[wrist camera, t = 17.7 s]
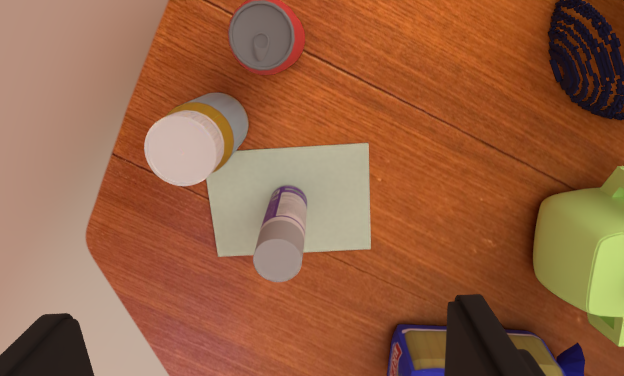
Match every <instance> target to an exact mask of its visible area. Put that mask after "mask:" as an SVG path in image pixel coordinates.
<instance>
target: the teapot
mask: <svg viewBox="0 0 624 376" xmlns="http://www.w3.org/2000/svg"><path fill="white" fill-rule="evenodd" d="M533 267H534V271H535V275H536V277H537V279H538V280H539V282H540V283H541V284H542V285H543V286H545V287H546V288H547V289H548V290H550V291H551V292H552V293H553V294H555V295H556V296H558V297H560V298H561V299H563V300H564V301H566V302H568V303H570V304H572V305H574V306H576V307H578V308H580V309H582V310H584V311H586V312H587V316H588V321H589V323H590V324H591V325H592V326H593V327H595V328H596V329H597V330H598V331H600V332H601V333H602V334H603V335H605V336H606V337H607V338H608V339H610V340H611V341H612V342H613V343H615V344H616V345H617V346H618V347H619V346H624V166H618V167H617V168H616V169H615V170H614V172H613V173H612V174H611V175H610V177H609V178H608V179H607V180H606V182H605V183H604V184H603V185H602V187H601V188H588V189H581V190H575V191H569V192H564V193H559V194H555V195H552V196H550V197H548V198H546V199H544V200H543V202H542V203H541V205H540V209H539V213H538V217H537V223H536V229H535V236H534V247H533Z"/></svg>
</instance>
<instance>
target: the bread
mask: <svg viewBox="0 0 624 376" xmlns="http://www.w3.org/2000/svg"><path fill="white" fill-rule="evenodd" d="M446 330H447V326H429V325H407V324H398V326H397V328H396V330H395V332H394V333H393V337H392V342H391V349H390V356H389V363H388V370H387V376H444V373H445V351H446ZM504 330H505V331H506V333H507V334H508V336H509V337H510V339H511V340H512V342H513V343H514V345H515V346H516V348H517V349H525V350H527V351H529V353H530V354H531V355H532V356H533V357H534V359H535V360H536V362H537V363H538V365H539V366H540V368H541V369H542V370H543V372H544V373H545V375H546V376H584V365H585V359H584V355H583V352H582V349H581V347H580V345H579V344H578V343H577V344H575V345H574V346H572V347H571V348H569V349H567V350H566V351H564V352H563V353H561V354H560V355H559V356H557V360H555V359H554V357H553V355H552V354H551V352H550V350H549V349H548V347H547V346H546V344H545V342H544V341H543V340H542V339H541V338H540V337H538V336H537V335H535V334H534V333H531V332H529V331H523V330H506V329H504Z"/></svg>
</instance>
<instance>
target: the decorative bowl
mask: <svg viewBox="0 0 624 376" xmlns="http://www.w3.org/2000/svg"><path fill="white" fill-rule="evenodd" d="M584 4H585V5H584ZM555 5H556V9H554V11H555V12H554V13H553V16H552V17H551V18H552V21H553V22H551V23H550V24H551V27H552V28H550V31H549V32H548V34H549V37H550V40H551V42H549V45H550V48H551V49H550V50H549V53H550V56H551V60H549V61H550V64H551V67H552V70H553V72H554V75H555V78H556V81H557V82H560V85H561V88H562V89H563V90H565V91H566V94H567V95H570V98H571V101H572V102H575V103H578V106H581V107H582V109H585V110H588V111H591V113H592V114H595V115H599V116H602V117H605V118H609V119H612V118H614V119H617V120H624V113H623V112H622V113H617V114H616V112H620V111H621V110H622V108H623V104H624V85H622V82H621V81H624V65H623V62H622V59H621V55H620V52H619V49H618V47H620V46H621V44H620V41H619V38H616V34H615V33H612V34H610V31H612V27H611V25H609V24H608V22H607V23H606V20H605V17H603V16H602V15H600V13H599V12H597V10H595V8H593V7H592V5H590V4H589V3H587V4H586V2H585V1H582V0H565V1H564V0H560V1H559V2H557V3H555ZM580 5H581V6H580ZM561 6H562V7H567V9H572V8H573V9H574V11H576V13H580V15H582V17H583V18H584V17H586V19H587V20H589V19H592V22H591V23H592V27H595V30H597V31H598V34H599V37H601V38H602V40H604V42H605V45H608V44H610V45H611V49H612V52H610V56H611V59H612V62H613V66H614V69H615V72H616V75H620V78H621V79H617V80H616V81H617V84H616V87H617V89H616V93H617V94H620V95H623V96H620V95H615V96H614V98H613V99H614V102H612V103H610V105H611V106H608V107H607V109H605V110H600V109H602V107H603V106H607V101H608V100H607V99H609V98H608V97H610V96H609V94H610V95H611V94H613V91H611V88H612V86H611V83H612V84H613V83H615V80H614V78H615V75H614V72H613V68H612V65H611V62H610V59H609V55H608V52H607V49H606V48H604V45H603V42H601V43H599V44H598V41H597V39H593V37H592V34H590V33H589V29H587V28H586V26H584V24H582V23H581V22H579V19H576V20H575V17H571V15H568V14H567V13H564V11H561ZM578 6H579V7H578ZM574 7H575V8H574ZM564 19H565V20H564ZM562 20H564V23H566V25H571V24H573V23H574V30H575V29H576V32H578V33H579V34H581V37H582V39H584V41H585V42H586V43H587V46H588V47H590V50H591V53H592V54H594V57H595V60H596V64H597V67H598V70H599V73H600V76H601V78H600V81H601V84H602V86H603V87H601V89H602V90H605V91H602V92H601V94H600V96H599V98H598V100H597V102H596V103H594V104H593V105H591V106H590V104H592V103H593V102H595V101H594V100H596V99H595V98H596V96H597V94H598V92H599V90H598V88H599V86H600V83H599V80H598V77H597V74H596V73H594V74H593V71H592V68H591V65H590V61H589V60H591V59H592V58H591V55H590V52H589V49H587V48H586V45H585V44H584V43H583V42H581V39H580V37H578V35H577V34H575V35H574V32H573V30H571V28H570V27H568V28H566V26H565V25H562V23H557V21H562ZM599 22H601V25H599V24H598V23H599ZM556 27H560V29H564V31H567V32H568V34H570V36H572V38H574V40H575V41H577V43H579V45H580V48H582V50H583V53H585V54H586V57H587V61H585V63H586V67H587V70H588V73H589V76H593V79H594V81H593V84H594V87H595V88H594V90H593V92H592V94H591V96H592V97H588V99H587V100H586V101H582V99H584V98H585V97H586V95H587V93H588V88H587V87H588V85H589V82H588V79H587V76H586V74H587V71H586V68H585V65H584V64H582V61H581V58H580V55H579V52H577V50H576V49H578V48H579V47H578V46H575V47H574V46H573V44H571V42H569V40H567V38H566V36H567V34H565V32H564V31H562V32H560V30H559V29H556ZM555 29H556V30H555ZM554 30H555V31H554ZM558 32H560V33H558ZM608 35H611V38H612V40H610V41H609V39H608ZM554 39H558V40H559V41H562V43H564V45H565V46H566V47H567V48H568V49H569V51H571V53H572V55H574V58H575V60H577V62H578V65H579V68H580V71H581V74H582V77H583V81H582V82H583V83H582V86H583V87H582V89H581V91H580V93H579V94H578V95H577V96H576V95H575V96H574V95H573V94H575V93H576V91H577V90H579V87H578V85H579V83H580V81H581V80H580V77H579V74H578V71H577V68H576V65H575V62H574V60H572V58H571V55H569V53H567V51H566V48H562V46H559V44H554ZM597 47H599V48H600V52H599V53H598V51H597ZM557 62H558V64H560V66H561V67H562V68H563V71H564V74H565V75H564V77H563V79H562V76H561V73H560V70H559V68H558V65H557ZM608 77H609V80H610V81H607V80H606V78H608ZM604 85H605V86H604Z"/></svg>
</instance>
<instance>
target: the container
mask: <svg viewBox="0 0 624 376" xmlns="http://www.w3.org/2000/svg"><path fill="white" fill-rule="evenodd" d="M306 216H307V198H306V195H305V193H304V192H303V191H302V190H301V189H300V188H298V187H296V186H293V185H283V186H280V187H278V188H277V189H276V190H275V191H274V192H273V193H272V195H271V198H270V201H269V204H268V207H267V210H266V213H265V217H264V220H263V223H262V226H261V229H260V232H259V236H258V240H257V244H256V248H255V252H254V256H253V263H254V266H255V269H256V270H257V272H258V273H259V274H260V275H261V276H262V277H263V278H265V279H267V280H270V281H273V282H284V281H287V280H290V279H291V278H293V277H294V276H295V275H296V274H297V273H298V272H299V270H300V268H301V265H302V257H303V250H304V242H305V231H306Z"/></svg>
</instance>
